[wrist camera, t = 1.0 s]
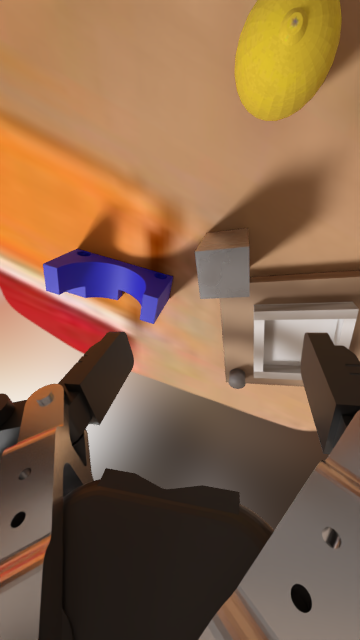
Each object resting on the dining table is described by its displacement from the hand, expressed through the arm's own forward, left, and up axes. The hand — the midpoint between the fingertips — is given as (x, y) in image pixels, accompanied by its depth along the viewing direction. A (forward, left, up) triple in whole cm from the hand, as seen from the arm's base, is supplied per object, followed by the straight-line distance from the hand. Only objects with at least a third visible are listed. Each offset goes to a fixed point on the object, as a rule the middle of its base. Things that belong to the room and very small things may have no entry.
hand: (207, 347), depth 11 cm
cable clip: (+2, -13, -17) cm, 21 cm away
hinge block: (0, 0, -16) cm, 16 cm away
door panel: (+10, +7, -16) cm, 20 cm away
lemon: (-12, +4, -16) cm, 21 cm away
